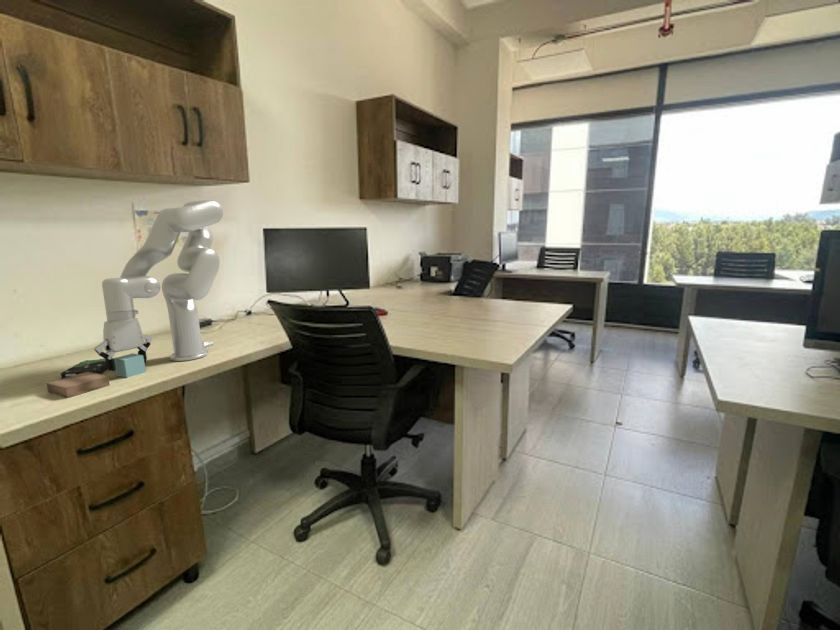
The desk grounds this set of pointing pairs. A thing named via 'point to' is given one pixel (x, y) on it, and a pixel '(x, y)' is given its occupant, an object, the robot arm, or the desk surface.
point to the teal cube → (129, 365)
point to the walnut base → (77, 384)
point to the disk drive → (86, 368)
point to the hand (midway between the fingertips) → (127, 366)
